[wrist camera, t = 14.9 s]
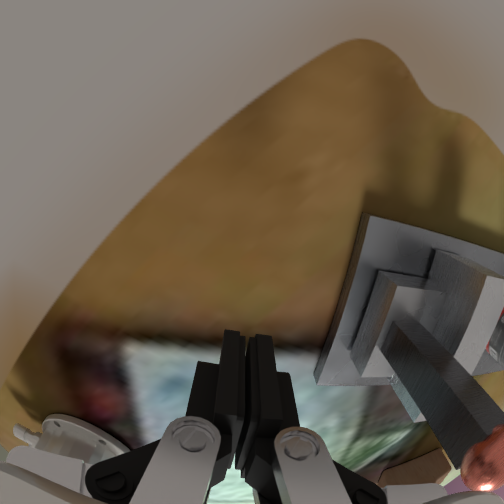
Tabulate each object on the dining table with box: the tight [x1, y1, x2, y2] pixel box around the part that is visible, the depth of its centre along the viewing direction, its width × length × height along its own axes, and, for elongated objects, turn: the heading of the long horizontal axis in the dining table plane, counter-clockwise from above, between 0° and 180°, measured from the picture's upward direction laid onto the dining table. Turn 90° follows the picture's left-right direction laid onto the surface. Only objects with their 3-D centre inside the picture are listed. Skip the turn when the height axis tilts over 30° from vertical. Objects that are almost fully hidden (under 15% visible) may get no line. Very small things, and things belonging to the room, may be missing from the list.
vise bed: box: [314, 212, 504, 386], centre depth 16 cm, size 26×12×6 cm, turn 80°
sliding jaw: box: [350, 250, 504, 492], centre depth 10 cm, size 7×10×14 cm
